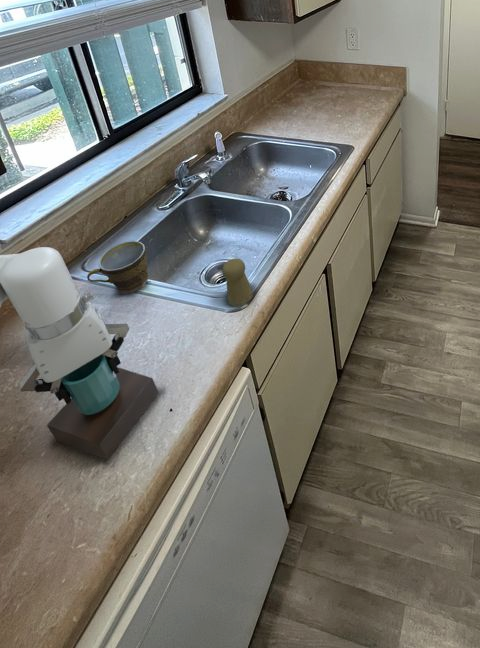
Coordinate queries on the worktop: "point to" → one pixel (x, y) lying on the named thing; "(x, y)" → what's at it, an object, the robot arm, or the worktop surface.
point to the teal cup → (92, 385)
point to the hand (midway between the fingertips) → (91, 381)
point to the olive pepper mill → (237, 282)
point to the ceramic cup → (124, 267)
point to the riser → (106, 417)
